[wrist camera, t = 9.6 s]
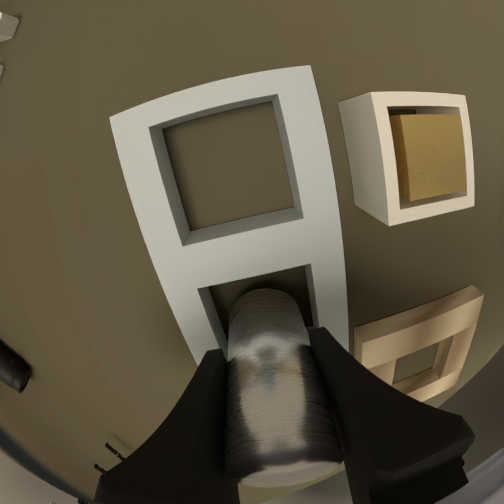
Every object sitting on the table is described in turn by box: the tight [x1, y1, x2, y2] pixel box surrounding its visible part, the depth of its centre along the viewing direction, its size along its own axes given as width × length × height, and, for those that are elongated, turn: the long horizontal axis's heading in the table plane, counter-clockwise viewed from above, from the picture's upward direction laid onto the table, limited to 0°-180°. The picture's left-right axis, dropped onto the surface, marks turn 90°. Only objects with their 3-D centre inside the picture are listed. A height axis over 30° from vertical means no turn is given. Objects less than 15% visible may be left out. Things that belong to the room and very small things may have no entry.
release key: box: [389, 114, 466, 201], centre depth 10 cm, size 3×3×3 cm
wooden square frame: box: [354, 285, 484, 402], centre depth 17 cm, size 10×10×2 cm
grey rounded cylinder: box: [225, 288, 344, 487], centre depth 10 cm, size 4×4×8 cm
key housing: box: [338, 92, 474, 226], centre depth 10 cm, size 5×5×4 cm
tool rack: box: [109, 65, 349, 366], centre depth 12 cm, size 8×14×2 cm, turn 13°
